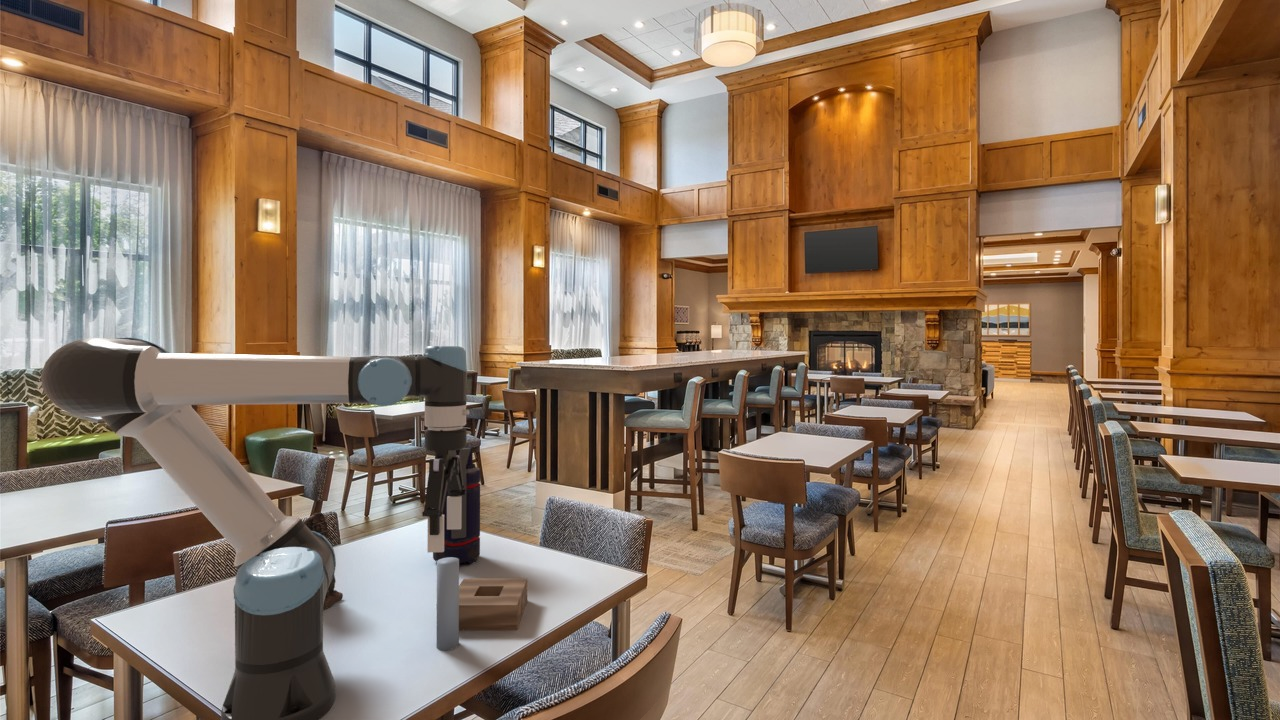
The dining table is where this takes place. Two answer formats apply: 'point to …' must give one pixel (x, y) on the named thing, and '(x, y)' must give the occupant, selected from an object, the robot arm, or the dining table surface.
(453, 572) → the pin
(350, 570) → the dining table surface
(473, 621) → the socket block
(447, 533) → the grenade
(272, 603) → the robot arm
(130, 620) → the dining table surface
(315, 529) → the statue
